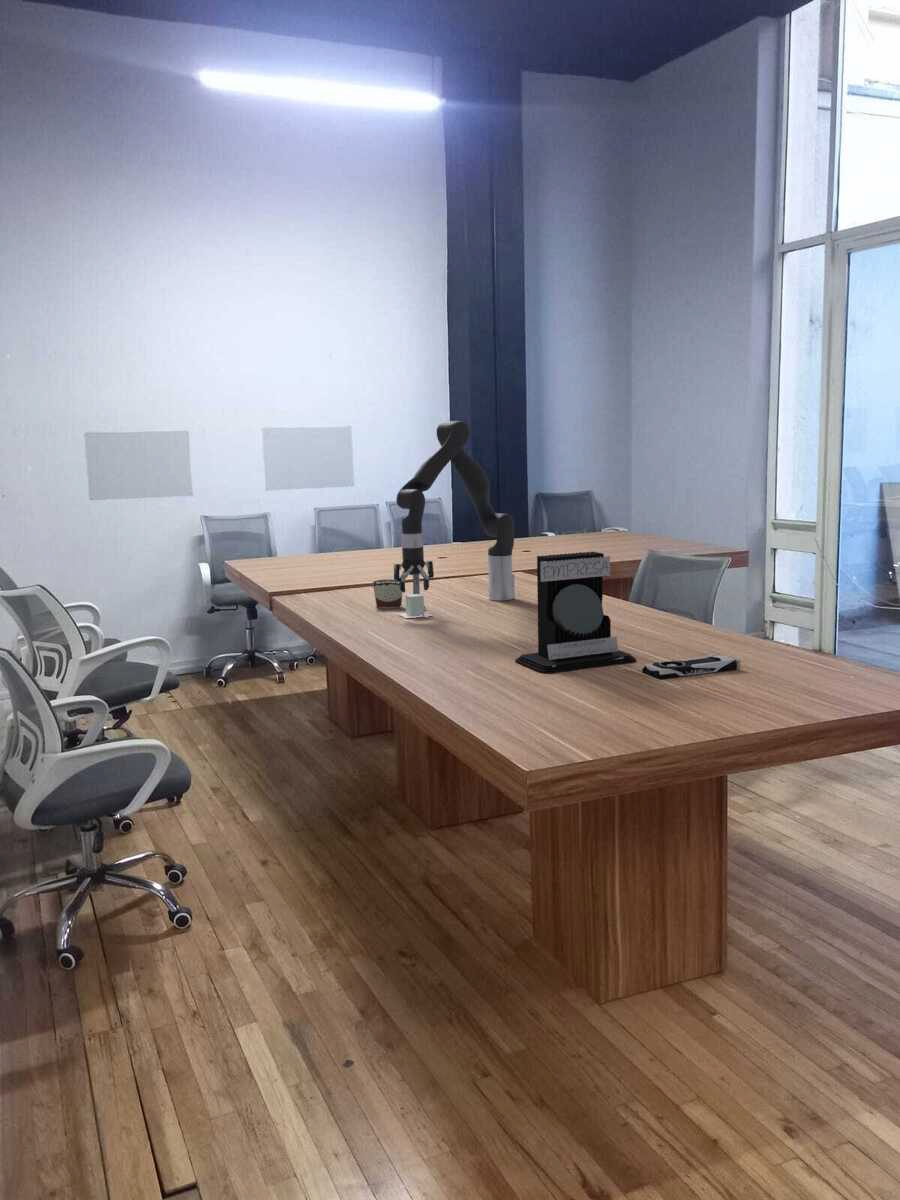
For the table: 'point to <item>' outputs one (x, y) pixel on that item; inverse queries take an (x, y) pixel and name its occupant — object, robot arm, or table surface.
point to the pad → (413, 616)
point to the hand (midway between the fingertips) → (414, 591)
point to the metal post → (416, 584)
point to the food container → (387, 593)
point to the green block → (414, 605)
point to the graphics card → (691, 667)
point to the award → (573, 615)
